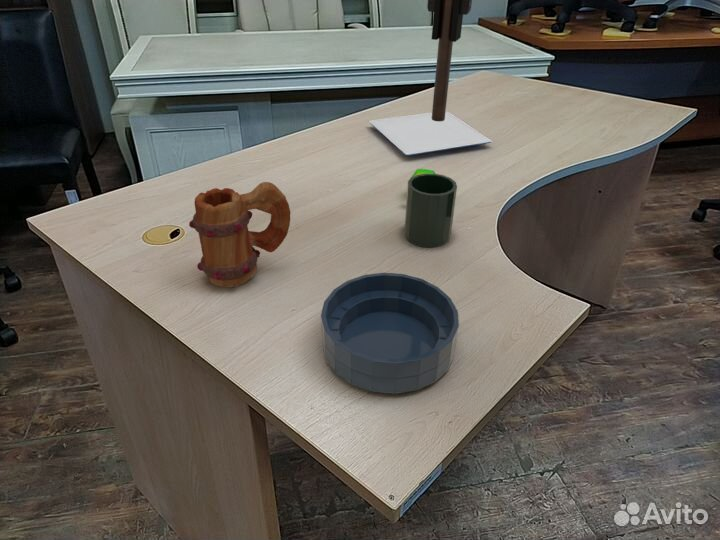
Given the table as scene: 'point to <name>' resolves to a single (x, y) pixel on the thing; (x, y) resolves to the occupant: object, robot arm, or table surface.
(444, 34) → the stick
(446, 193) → the holder
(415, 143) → the plate
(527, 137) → the table surface
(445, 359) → the bowl
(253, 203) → the mug
